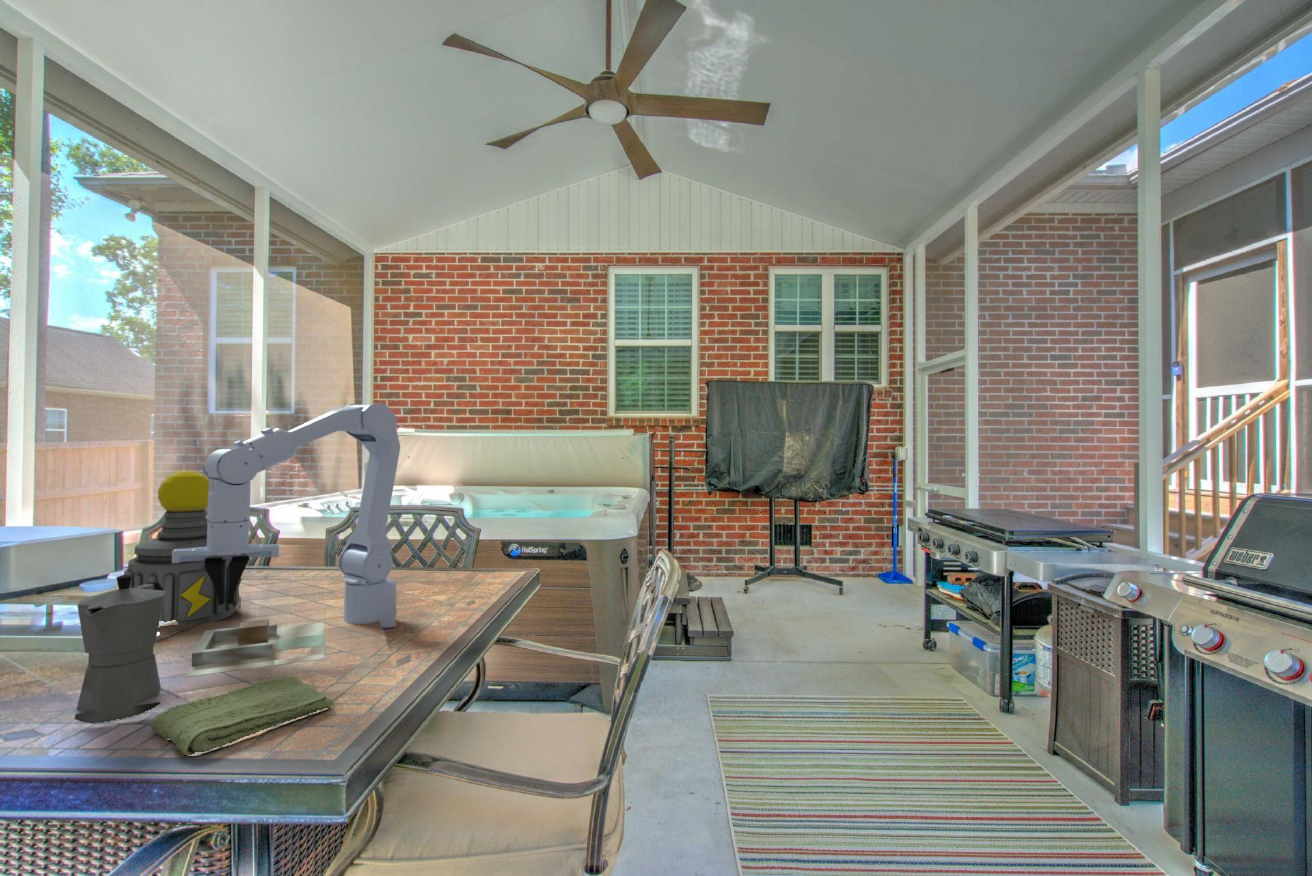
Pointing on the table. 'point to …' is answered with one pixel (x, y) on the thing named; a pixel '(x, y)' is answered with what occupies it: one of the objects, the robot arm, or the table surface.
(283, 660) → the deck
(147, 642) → the coffeepot
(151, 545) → the decorative lamp
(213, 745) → the washcloth
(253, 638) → the walnut block
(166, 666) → the table surface
